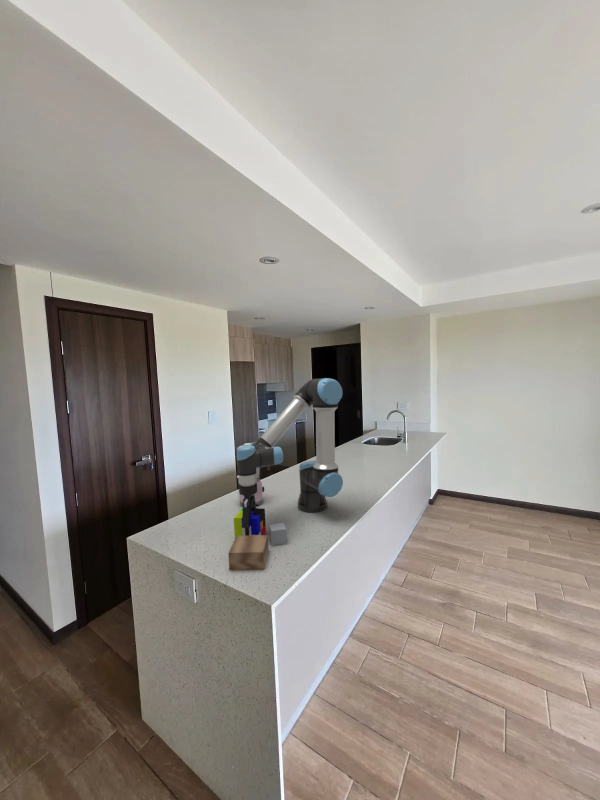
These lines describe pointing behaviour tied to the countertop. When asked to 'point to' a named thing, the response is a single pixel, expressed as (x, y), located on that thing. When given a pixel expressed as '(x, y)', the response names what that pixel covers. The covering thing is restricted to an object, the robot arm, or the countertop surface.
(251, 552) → the walnut block
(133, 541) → the countertop surface
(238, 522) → the puzzle toy
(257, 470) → the blender
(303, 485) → the robot arm
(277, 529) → the slate block
